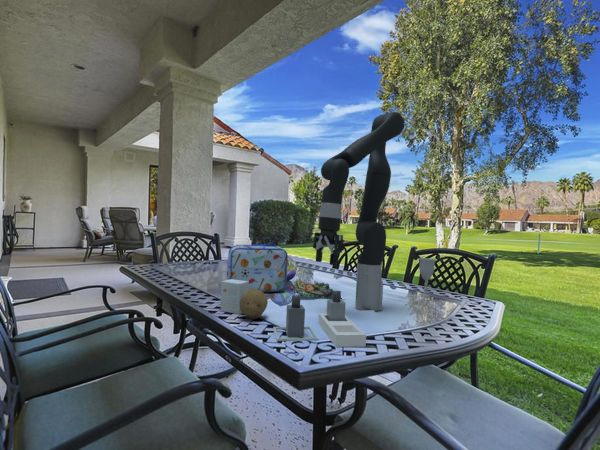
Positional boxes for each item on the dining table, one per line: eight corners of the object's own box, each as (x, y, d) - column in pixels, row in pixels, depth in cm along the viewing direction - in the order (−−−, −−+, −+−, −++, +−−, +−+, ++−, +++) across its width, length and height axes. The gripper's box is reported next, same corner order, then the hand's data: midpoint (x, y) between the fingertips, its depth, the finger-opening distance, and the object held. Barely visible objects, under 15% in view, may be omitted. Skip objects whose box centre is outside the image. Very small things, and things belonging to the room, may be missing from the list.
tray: (310, 331, 102) (310, 326, 102) (317, 343, 92) (317, 338, 92) (273, 332, 100) (273, 326, 100) (276, 344, 90) (276, 338, 90)
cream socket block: (318, 326, 107) (318, 311, 107) (343, 326, 108) (343, 311, 108) (335, 350, 87) (336, 332, 87) (365, 350, 89) (366, 332, 89)
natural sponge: (262, 325, 105) (263, 293, 105) (234, 322, 107) (235, 290, 107) (269, 317, 114) (270, 287, 114) (244, 315, 116) (245, 285, 116)
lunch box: (284, 288, 164) (286, 242, 163) (290, 293, 154) (292, 244, 153) (225, 289, 156) (227, 240, 155) (227, 294, 146) (229, 242, 145)
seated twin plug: (340, 325, 105) (341, 289, 105) (344, 330, 101) (346, 292, 101) (326, 325, 105) (327, 289, 105) (329, 330, 100) (331, 292, 100)
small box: (248, 311, 121) (249, 281, 121) (239, 314, 116) (240, 283, 116) (229, 307, 125) (230, 278, 125) (220, 311, 120) (221, 280, 120)
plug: (301, 332, 98) (302, 294, 98) (303, 338, 94) (305, 298, 94) (285, 333, 98) (287, 294, 97) (287, 338, 93) (289, 297, 93)
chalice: (435, 299, 154) (437, 259, 154) (432, 302, 148) (434, 260, 148) (418, 296, 158) (420, 257, 158) (414, 299, 152) (416, 258, 152)
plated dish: (273, 286, 171) (274, 272, 171) (327, 286, 179) (327, 272, 179) (292, 304, 137) (293, 286, 137) (356, 304, 145) (357, 286, 145)
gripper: (351, 218, 116) (346, 266, 116) (327, 217, 128) (322, 261, 128) (333, 216, 112) (328, 265, 112) (310, 215, 124) (305, 260, 124)
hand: (325, 263), depth 120 cm, fingers open, 8 cm apart
